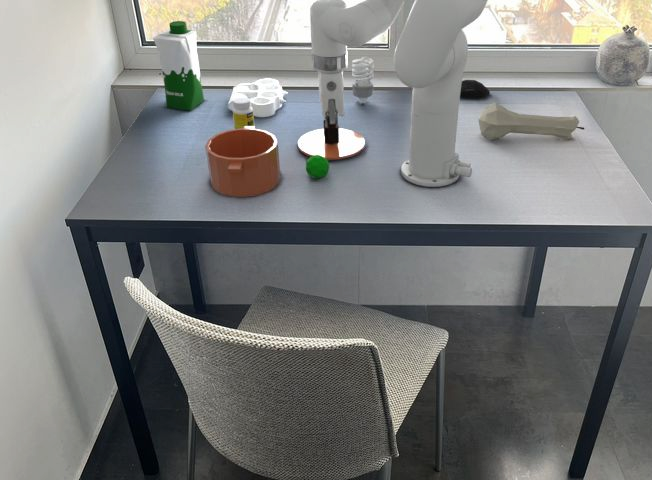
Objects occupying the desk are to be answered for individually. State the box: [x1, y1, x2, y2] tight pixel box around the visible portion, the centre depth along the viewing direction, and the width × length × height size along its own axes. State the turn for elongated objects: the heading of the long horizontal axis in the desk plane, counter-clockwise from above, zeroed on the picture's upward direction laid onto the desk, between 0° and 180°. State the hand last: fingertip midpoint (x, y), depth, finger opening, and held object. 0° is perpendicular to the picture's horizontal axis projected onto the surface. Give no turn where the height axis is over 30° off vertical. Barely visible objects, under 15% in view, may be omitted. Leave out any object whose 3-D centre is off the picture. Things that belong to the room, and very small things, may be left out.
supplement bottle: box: [232, 97, 255, 129], centre depth 160 cm, size 5×5×8 cm
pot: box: [204, 125, 281, 198], centre depth 142 cm, size 14×20×8 cm
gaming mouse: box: [460, 79, 491, 100], centre depth 181 cm, size 6×15×4 cm, turn 81°
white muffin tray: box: [227, 78, 289, 118], centre depth 177 cm, size 3×18×15 cm
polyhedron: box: [305, 155, 330, 179], centre depth 144 cm, size 5×5×5 cm
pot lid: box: [297, 125, 366, 161], centre depth 155 cm, size 15×15×6 cm
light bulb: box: [351, 56, 375, 104], centre depth 174 cm, size 6×6×12 cm
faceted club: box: [478, 102, 585, 141], centre depth 159 cm, size 9×8×25 cm
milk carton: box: [152, 20, 205, 112], centre depth 171 cm, size 9×9×20 cm
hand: (331, 139), depth 156 cm, fingers closed on pot lid, 2 cm apart
